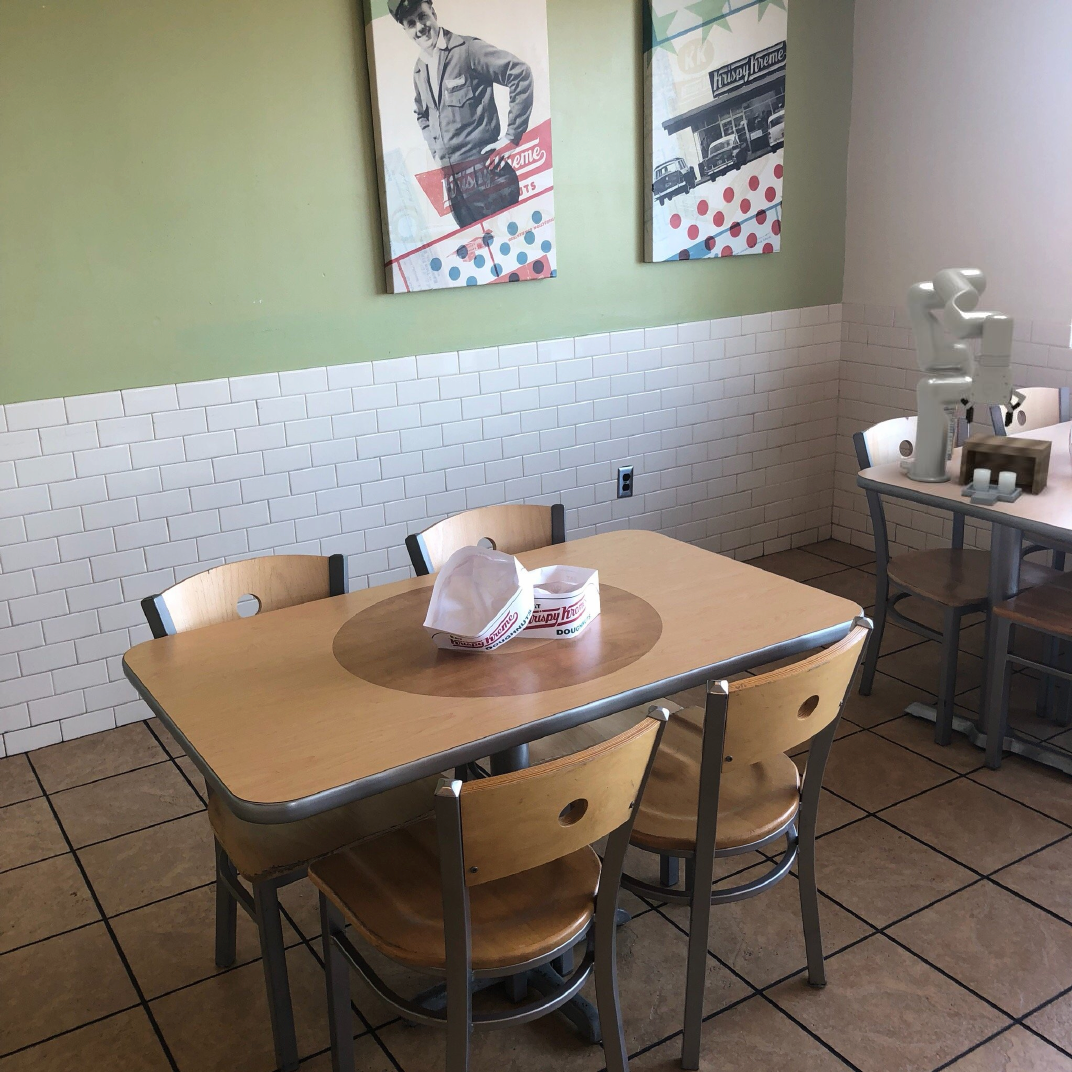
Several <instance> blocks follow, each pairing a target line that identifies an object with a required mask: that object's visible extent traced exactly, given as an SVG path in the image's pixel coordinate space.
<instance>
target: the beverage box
mask: <svg viewBox="0 0 1072 1072" xmlns="http://www.w3.org/2000/svg"><path fill="white" fill-rule="evenodd" d="M958 407H959V406H952V407H944V408H943V409H944V411H945V413H946V414H947V415H948V417H949V419H950V434H949V444H948V455H947V461H952V458H953V454H954V449H955V438H956V430H957V429H956V427H957V420H958V419H957V417H958Z"/></svg>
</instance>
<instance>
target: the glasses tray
mask: <svg viewBox="0 0 1072 1072" xmlns="http://www.w3.org/2000/svg"><path fill="white" fill-rule="evenodd" d="M990 472H991V471H990V470H988V469H975V470H974V478H972V481H971V482H969V484H967V485H966V486H965V487H964V488H963V489H961V497H966V496H967V498H970V500H969V503H970V504H975V505H983V506H989V507H990V506H991V507H993V506H994V505H995V504H996V503H997V502H1003V503H1004V502H1005V503H1012V504H1013V503H1014V502H1015V501H1016V500H1017V499H1018V498H1019V497H1020V496H1022V490H1023V488H1021V487H1016V483H1015V481H1016V473H1013V472H1000V474H999V481H998V482H997V483H998V485H997V484H990V481H991V480H990Z"/></svg>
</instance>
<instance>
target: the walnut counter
mask: <svg viewBox="0 0 1072 1072" xmlns="http://www.w3.org/2000/svg"><path fill="white" fill-rule="evenodd" d="M1052 443H1053V441H1052V440H1051V441H1050V440H1044V439H1043V440H1042V439H1033V438H1023V437H1013V436H1003V435H996V434H995V435H993V434H983V433H976V432H975V433H972V434H971V435H969V436H968V437H967V438H965V439H964V440H962V445H961V447H962V448H961V454H960V455H961V456H960V457H961V458H960V465H959V466H960V467H959V475H958V476H959V477H958V486H963V485H964V486H965V485H966V484H968V483H970V481H971V480H973V478H974V470H975V469H988V470H990V471H991V472H990V481H995V480H998V481H997V482H999V474H1000V472H1013V473H1016V481H1015V484H1021V485H1029V486H1032V490H1031V495H1032V496H1038V495H1039V494H1040V493H1041V492H1042V491H1043V490H1044V489H1045V488H1046V487H1047V483H1048V478H1049V477H1048V475H1049V468H1050V460H1051V459H1050V458H1051V451H1052ZM969 480H970V481H969ZM967 482H968V483H967ZM1044 487H1045V488H1044Z"/></svg>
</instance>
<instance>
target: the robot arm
mask: <svg viewBox="0 0 1072 1072" xmlns="http://www.w3.org/2000/svg"><path fill="white" fill-rule="evenodd" d="M986 289H987V278H986V275H985V273H984V272H983V270H981V269H980V268H977V267H952V268H945V269H942V270H940V271H938V272H937V273H936V274H935V275H934V277H933V279H932V280H926V281H919V282H915V283H914V284H913V283H912V285H911V286H910V287H909V288H908V289H907V291H906V295H905V303H904V304H905V311H906V315H907V318H908V320H909V322H910V325H911V328H912V331H913V338H914V344H915V352H916V358H917V360H916V361H917V364H918V366H919V367H918V368H919V369H920V371H922V373H923V372H924V373H931V374H933V373H953V374H937V375H936V374H935V375H928V376H924V377H923V378H921V379H920V380H919V381H918V382H917V385H916V392H915V393H916V400H917V402H916V403H917V420H916V432H915V433H916V434H915V443H914V457H913V460H912V461H909V462H908V461H906V460H901V461H900V463H899V467H900V468H901V469H904V470H909V471H907V478H909V479H910V480H914V481H917V482H924V483H943V482H948V481H950V480H951V479H952V476H951V474H950V473H949V472H947V464H948V460H947V455H948V444H949V434H950V419H949V417H948V415H947V414H946V413H945V411H944V409H943V408H944V407H952V406H958V407H964V408H965V421H966V424H967V425H969V424H971V423H973V421H974V412H975V408H974V407H973V406H974V405H976V404H978V405H991V406H992V405H993V406H1003V407H1005V409H1006V410H1007V411H1006V412H1005V418H1004V427H1005V428H1008V427H1010V426H1011V425H1012V423H1013V419H1014V411H1016V410H1017V409H1018V408H1019V407H1021V406H1022V404H1023V403H1024V402H1025V401H1026V398H1027V396H1026V395H1024V394H1023V393H1021V392H1020V391H1017V390H1016V389H1014V381H1013V380H1014V377H1013V366H1010V364H1011V356H1012V355H1011V354H1012V346H1013V336H1014V328H1015V327H1014V325H1015V319H1014V318H1015V317H1013V316H1012V315H1011V314H1007V313H1003V312H1002V311H999V310H974V309H976V307H977V306H978V303H979V301H980V297H981V296H982V295H983V294H984V293H985V291H986ZM931 310H943V314H942V316H943V317H942V318H943V323H944V325H943V324H942V321H941V320H940V319H939V318H938V316H936V315H935V314H934V313H933V312H932V311H931ZM944 327H945V328H946V330H947V331H948V332H949V333H950V334H951V336H952V337H954V338H955V339H956V340H955V339H954V340H949V339H947V338H946V337H945V332H944V331H945V330H944V329H945V328H944ZM966 340H967V341H968V340H980V341H981V343H980V352H979V354H978V355H974V351H973V348H972V347H971V345H970V343H968V342H967V341H966ZM975 362H978V365H976V363H975ZM1013 396H1014V397H1015V398H1017V399H1018V400H1017V401H1016V403H1014V404H1013V402H1012V400H1013Z"/></svg>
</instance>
